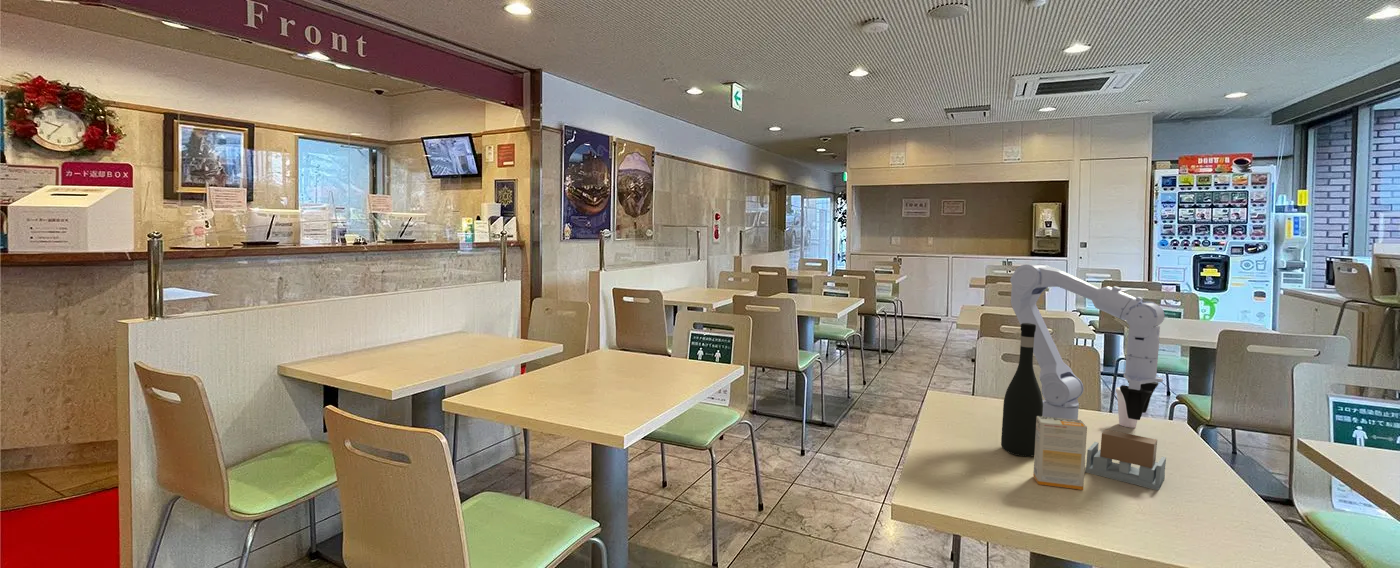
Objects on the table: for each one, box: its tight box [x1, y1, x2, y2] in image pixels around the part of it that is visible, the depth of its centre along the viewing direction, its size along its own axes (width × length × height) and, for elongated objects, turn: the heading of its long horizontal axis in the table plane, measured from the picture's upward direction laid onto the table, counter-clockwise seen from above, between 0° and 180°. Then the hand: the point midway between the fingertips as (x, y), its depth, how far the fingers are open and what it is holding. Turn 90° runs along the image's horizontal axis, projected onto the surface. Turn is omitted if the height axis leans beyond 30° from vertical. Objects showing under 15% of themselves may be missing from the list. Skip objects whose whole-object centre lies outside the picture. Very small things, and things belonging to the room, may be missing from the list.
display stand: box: [1084, 441, 1167, 491], centre depth 127 cm, size 13×8×5 cm, turn 46°
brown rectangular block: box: [1099, 429, 1158, 468], centre depth 127 cm, size 9×4×5 cm, turn 46°
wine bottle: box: [1000, 323, 1044, 457], centre depth 139 cm, size 8×8×30 cm
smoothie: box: [1115, 386, 1138, 429], centre depth 161 cm, size 6×6×14 cm
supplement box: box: [1032, 416, 1088, 491], centre depth 122 cm, size 8×5×13 cm, turn 71°
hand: (1137, 415), depth 137 cm, fingers open, 7 cm apart
